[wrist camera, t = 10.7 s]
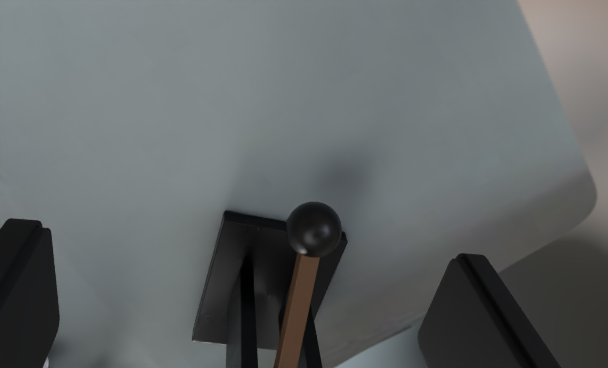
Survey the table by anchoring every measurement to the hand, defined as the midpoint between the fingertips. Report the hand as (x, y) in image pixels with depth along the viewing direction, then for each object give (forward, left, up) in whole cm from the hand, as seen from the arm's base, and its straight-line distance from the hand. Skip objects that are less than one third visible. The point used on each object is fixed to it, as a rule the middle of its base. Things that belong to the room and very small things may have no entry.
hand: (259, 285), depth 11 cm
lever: (-6, +12, -12) cm, 18 cm away
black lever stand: (-6, +17, -19) cm, 26 cm away
